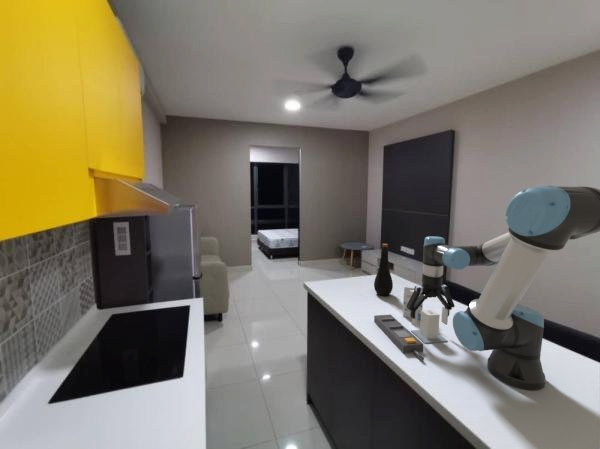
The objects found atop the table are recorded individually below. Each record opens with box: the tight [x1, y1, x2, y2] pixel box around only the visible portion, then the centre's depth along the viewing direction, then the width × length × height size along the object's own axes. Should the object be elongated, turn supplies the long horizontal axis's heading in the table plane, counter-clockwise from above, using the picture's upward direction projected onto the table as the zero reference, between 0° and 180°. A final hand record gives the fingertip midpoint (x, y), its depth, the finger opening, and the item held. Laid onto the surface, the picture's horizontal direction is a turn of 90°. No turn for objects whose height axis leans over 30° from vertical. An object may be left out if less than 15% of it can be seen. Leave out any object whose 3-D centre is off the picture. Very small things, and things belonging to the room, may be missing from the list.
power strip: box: [373, 314, 425, 362], centre depth 115 cm, size 32×8×4 cm, turn 9°
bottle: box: [373, 243, 394, 298], centre depth 164 cm, size 11×11×30 cm
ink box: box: [402, 286, 424, 321], centre depth 135 cm, size 8×5×15 cm, turn 62°
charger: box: [419, 309, 440, 339], centre depth 116 cm, size 5×5×10 cm
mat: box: [410, 329, 448, 345], centre depth 117 cm, size 10×10×1 cm
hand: (429, 324), depth 116 cm, fingers open, 13 cm apart
